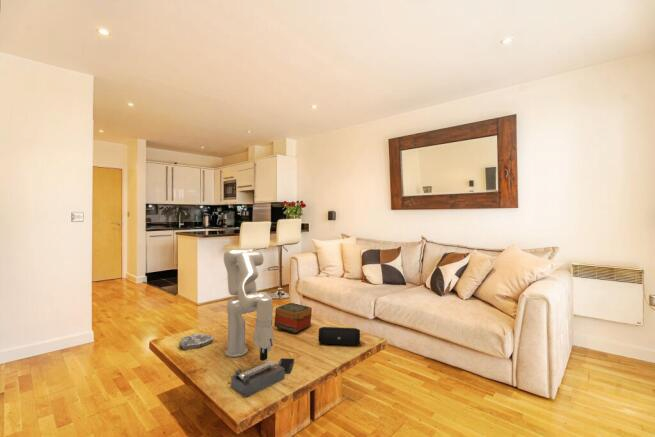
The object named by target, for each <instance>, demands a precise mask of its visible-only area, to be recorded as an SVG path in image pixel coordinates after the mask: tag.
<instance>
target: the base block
mask: <svg viewBox="0 0 655 437" xmlns="http://www.w3.org/2000/svg"><path fill="white" fill-rule="evenodd" d="M265 362H266V361H265ZM265 362H262V363H260V364H258V365H256V366H253V367H251V368H248V369H246V370H243V371H242V369H241V368H238V369H236V370H235V371H234V375H232V376H230V387H231V388H232V389H233V390H235V391H236V393H238V394H240V395H242V396H243V397H244V398H248V397H250V396H252V395H254V394H256V393H258V392H260V391H262V390H264V389H267V388H268V387H270V386H272V385H274V384H276V383H278V382H280V381H282V380H284V379H285V377H286V376H285V375H286V374H285V368H283V367H281V366H280V365H278V364H279V363H278V364H277V363H276V367H274V368H272V369H271V368H267V369H265V370H263V371H260V372H258V373H256V374H254V375H251V376H249V375H248V374H247V375H245V376H243V380H242V379H241V378H239V377H238V376H237V374H238V373H239V372H241V373H243V372H246V371H248V370H250V369H253V368H255V367H257V366H260V365H262V364H264V363H265Z"/></svg>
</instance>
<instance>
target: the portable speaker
mask: <svg viewBox="0 0 655 437" xmlns="http://www.w3.org/2000/svg"><path fill="white" fill-rule="evenodd" d="M318 342H319V343H321V344H323V345H325V344H326V345H338V344H343V346H344V345H345V346H358V345H360V344H361V330H360V329H358V328H356V327H337V326H336V327H335V326H333V327H332V326H321V327H319V329H318Z"/></svg>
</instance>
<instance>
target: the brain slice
mask: <svg viewBox="0 0 655 437" xmlns="http://www.w3.org/2000/svg"><path fill="white" fill-rule="evenodd" d="M213 340H214V336H213V335H212V334H207V333H206V334H205V333H195V334H191V335H187V336H184V337H183V338H181V339H180V341H179V342H178V345H179V346H180V347H181V348H182V349H183V350H194V349H198V348H203V347H205V346H208V345H209V344H211V343H212V342H213Z"/></svg>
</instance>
